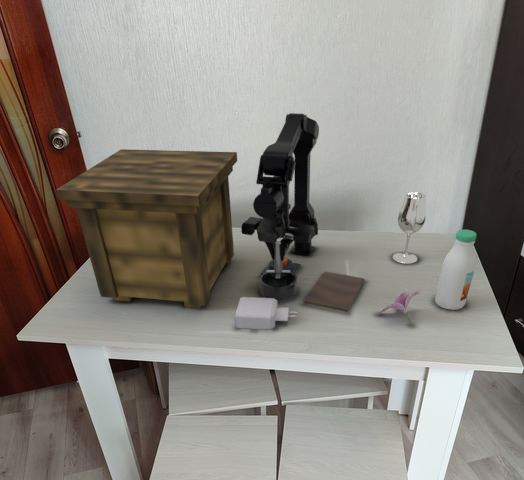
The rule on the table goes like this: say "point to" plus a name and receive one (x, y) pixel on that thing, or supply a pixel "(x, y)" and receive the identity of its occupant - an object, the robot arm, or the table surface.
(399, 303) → the lily
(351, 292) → the cutting board
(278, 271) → the blade
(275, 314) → the charger
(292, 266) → the button block
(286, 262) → the button
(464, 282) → the milk bottle
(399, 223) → the wineglass
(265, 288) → the dark fan housing
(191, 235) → the crate
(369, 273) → the table surface
